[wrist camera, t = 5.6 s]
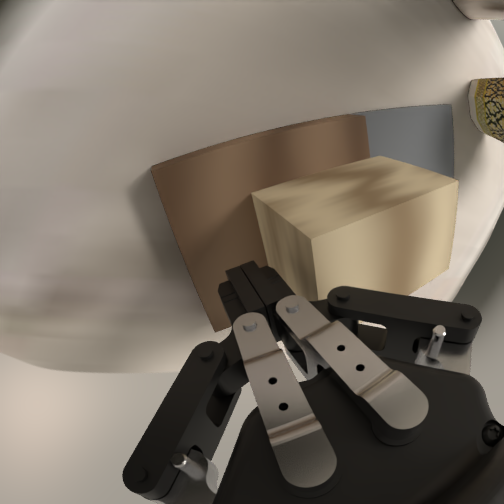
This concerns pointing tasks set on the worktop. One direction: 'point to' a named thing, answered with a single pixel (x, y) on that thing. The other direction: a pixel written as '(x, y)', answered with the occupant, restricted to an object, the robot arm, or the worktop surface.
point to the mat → (413, 136)
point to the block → (359, 227)
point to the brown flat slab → (244, 193)
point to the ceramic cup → (488, 106)
